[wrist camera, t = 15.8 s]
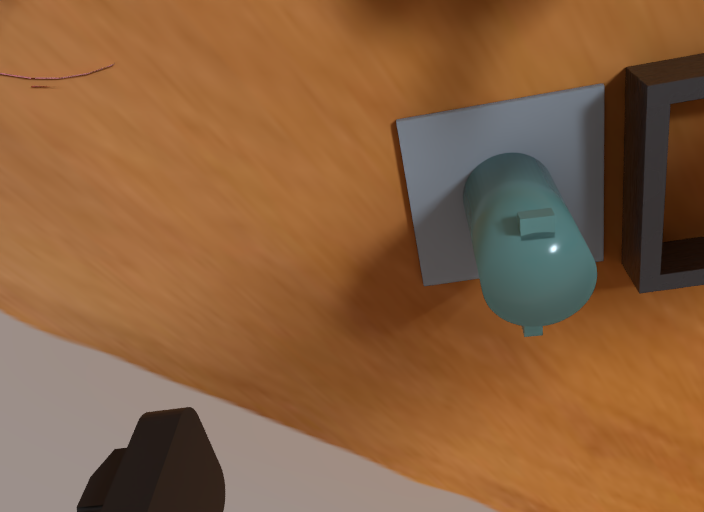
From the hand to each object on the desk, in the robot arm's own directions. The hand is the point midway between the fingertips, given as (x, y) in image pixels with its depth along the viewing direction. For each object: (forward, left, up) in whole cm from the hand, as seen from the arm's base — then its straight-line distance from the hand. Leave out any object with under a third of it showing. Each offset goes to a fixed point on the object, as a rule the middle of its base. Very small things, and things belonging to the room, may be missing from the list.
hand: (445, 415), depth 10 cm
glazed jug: (-5, +12, -30) cm, 32 cm away
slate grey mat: (-5, +12, -30) cm, 33 cm away
